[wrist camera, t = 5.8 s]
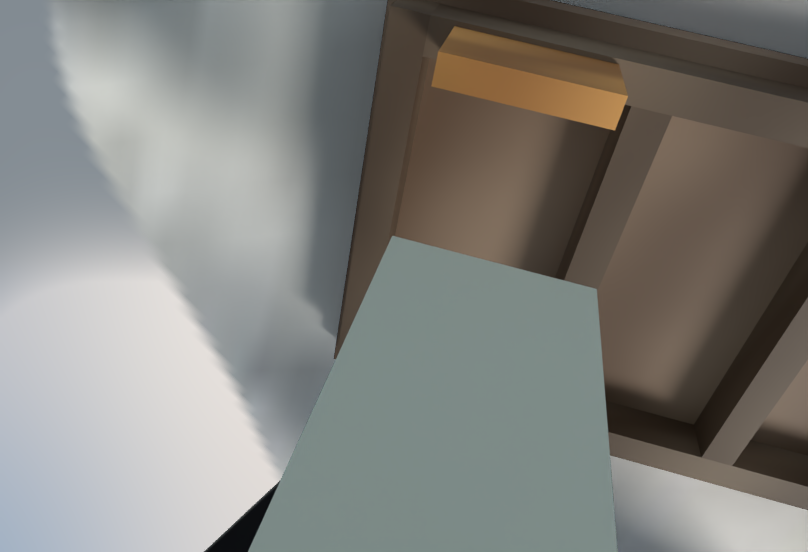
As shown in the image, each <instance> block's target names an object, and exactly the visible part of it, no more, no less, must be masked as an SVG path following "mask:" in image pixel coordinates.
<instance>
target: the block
mask: <svg viewBox="0 0 808 552" xmlns="http://www.w3.org/2000/svg"><path fill="white" fill-rule="evenodd" d="M248 552H618V550H617V537H616V525H615V512H614V500H613V487H612V475H611V462H610V449H609V437H608V424H607V412H606V399H605V386H604V374H603V361H602V349H601V336H600V323H599V311H598V298H597V289H595V288H591V287H587V286H583V285H579V284H576V283H572V282H568V281H564V280H560V279H556V278H553V277H549V276H545V275H541V274H537V273H533V272H530V271H526V270H522V269H518V268H514V267H510V266H507V265H503V264H499V263H495V262H491V261H487V260H484V259H480V258H476V257H472V256H468V255H464V254H461V253H457V252H453V251H449V250H445V249H441V248H438V247H434V246H430V245H426V244H422V243H419V242H415V241H411V240H407V239H403V238H399V237H396V236H392V238H391V240H390V242H389V244H388V246H387V249H386V251H385V253H384V255H383V257H382V259H381V262H380V264H379V266H378V268H377V270H376V273H375V275H374V277H373V279H372V281H371V284H370V286H369V288H368V290H367V292H366V295H365V297H364V299H363V301H362V303H361V305H360V308H359V310H358V312H357V314H356V316H355V319H354V321H353V323H352V325H351V327H350V330H349V332H348V334H347V336H346V338H345V340H344V343H343V345H342V347H341V349H340V351H339V354H338V356H337V358H336V360H335V362H334V365H333V367H332V369H331V371H330V373H329V375H328V378H327V380H326V382H325V384H324V386H323V389H322V391H321V393H320V395H319V397H318V400H317V402H316V404H315V406H314V408H313V410H312V413H311V415H310V417H309V419H308V421H307V424H306V426H305V428H304V430H303V432H302V435H301V437H300V439H299V441H298V443H297V446H296V448H295V450H294V452H293V454H292V456H291V459H290V461H289V463H288V465H287V467H286V470H285V472H284V474H283V476H282V478H281V481H280V483H279V485H278V487H277V489H276V491H275V494H274V496H273V498H272V500H271V502H270V505H269V507H268V509H267V511H266V513H265V516H264V518H263V520H262V522H261V524H260V526H259V529H258V531H257V533H256V535H255V537H254V540H253V542H252V544H251V546H250V548H249V551H248Z"/></svg>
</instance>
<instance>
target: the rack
mask: <svg viewBox="0 0 808 552" xmlns="http://www.w3.org/2000/svg"><path fill="white" fill-rule="evenodd" d="M392 236H396V237H399V238H403V239H407V240H411V241H415V242H419V243H422V244H426V245H430V246H434V247H438V248H441V249H445V250H449V251H453V252H457V253H461V254H464V255H468V256H472V257H476V258H480V259H484V260H487V261H491V262H495V263H499V264H503V265H507V266H510V267H514V268H518V269H522V270H526V271H530V272H533V273H537V274H541V275H545V276H549V277H553V278H556V279H560V280H564V281H568V282H572V283H576V284H579V285H583V286H587V287H591V288H595V289H597V298H598V311H599V323H600V336H601V349H602V361H603V374H604V386H605V399H606V412H607V424H608V437H609V449H610V455H611V456H615V457H618V458H622V459H626V460H629V461H633V462H636V463H640V464H644V465H647V466H651V467H654V468H658V469H662V470H665V471H669V472H673V473H676V474H680V475H683V476H687V477H691V478H694V479H698V480H701V481H705V482H709V483H712V484H716V485H719V486H723V487H727V488H730V489H734V490H737V491H741V492H745V493H748V494H752V495H755V496H759V497H763V498H766V499H770V500H774V501H777V502H781V503H784V504H788V505H792V506H795V507H799V508H802V509H806V510H808V59H806V58H802V57H797V56H793V55H789V54H784V53H780V52H776V51H771V50H767V49H762V48H758V47H754V46H749V45H745V44H740V43H736V42H732V41H727V40H723V39H719V38H714V37H710V36H705V35H701V34H697V33H692V32H688V31H683V30H679V29H675V28H670V27H666V26H662V25H657V24H653V23H648V22H644V21H640V20H635V19H631V18H626V17H622V16H618V15H613V14H609V13H605V12H600V11H596V10H591V9H587V8H583V7H578V6H574V5H569V4H565V3H561V2H556V1H552V0H388V2H387V8H386V15H385V22H384V28H383V35H382V42H381V48H380V55H379V62H378V68H377V75H376V82H375V88H374V95H373V102H372V108H371V115H370V122H369V128H368V135H367V142H366V148H365V155H364V162H363V168H362V175H361V182H360V188H359V195H358V201H357V208H356V215H355V221H354V228H353V235H352V241H351V248H350V255H349V261H348V268H347V275H346V281H345V288H344V295H343V301H342V308H341V315H340V321H339V328H338V335H337V341H336V348H335V355H334V359H336V358H337V356H338V354H339V351H340V349H341V347H342V345H343V343H344V340H345V338H346V336H347V334H348V332H349V330H350V327H351V325H352V323H353V321H354V319H355V316H356V314H357V312H358V310H359V308H360V305H361V303H362V301H363V299H364V297H365V295H366V292H367V290H368V288H369V286H370V284H371V281H372V279H373V277H374V275H375V273H376V270H377V268H378V266H379V264H380V262H381V259H382V257H383V255H384V253H385V251H386V249H387V246H388V244H389V242H390V240H391V238H392Z"/></svg>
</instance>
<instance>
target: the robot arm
mask: <svg viewBox="0 0 808 552" xmlns="http://www.w3.org/2000/svg"><path fill="white" fill-rule="evenodd" d="M280 481H281V480H280ZM280 481H279V482H278V483H277V484H276V485H275V486H274V487H273V488H272V489H271V490H270V491H268V492H267V493H266V494H265V495H264V496H263V497H262V498H261V499H260V500H259V501H258V502H257V503H256V504H255V505H254V506H252V507H251V508H250V509H249V510H248V511H247V512H246V513H245V514H244V515H243V516H242V517H241V518H240V519H239V520H238V521H236V522H235V523H234V524H233V525H232V526H231V527H230V528H229V529H228V530H227V531H226V532H225V533H224V534H223V535H221V536H220V537H219V538H218V539H217V540H216V541H215V542H214V543H213V544H212V545H211V546H210V547H209V548H208V549H207V550H206V551H204V552H248V551H249V548H250V546H251V544H252V542H253V540H254V537H255V535H256V533H257V531H258V529H259V526H260V524H261V522H262V520H263V518H264V516H265V513H266V511H267V509H268V507H269V505H270V502H271V500H272V498H273V496H274V494H275V491H276V489H277V487H278V485H279V483H280Z"/></svg>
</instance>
